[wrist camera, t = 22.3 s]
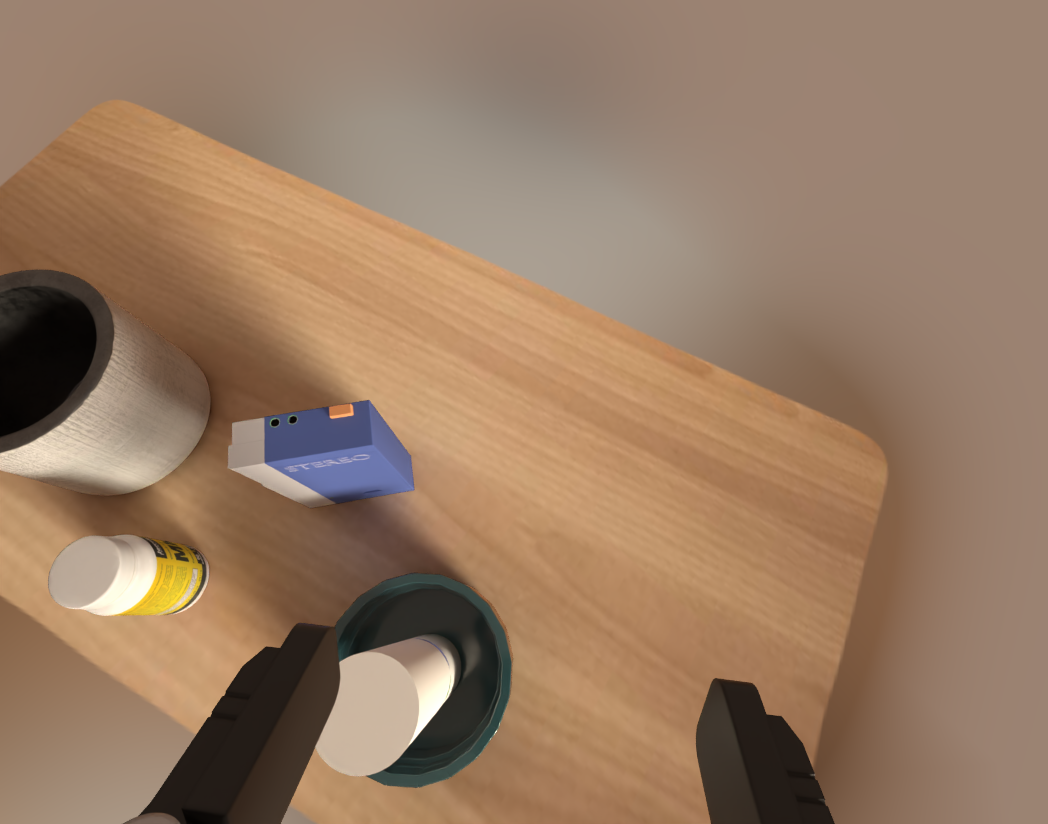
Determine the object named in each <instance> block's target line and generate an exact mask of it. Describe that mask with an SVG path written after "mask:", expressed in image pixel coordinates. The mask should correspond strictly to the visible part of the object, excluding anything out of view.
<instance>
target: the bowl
mask: <svg viewBox="0 0 1048 824" xmlns="http://www.w3.org/2000/svg"><path fill="white" fill-rule="evenodd" d="M335 630H336V637H337V646H338V656H339V662H340V661H342V660H344V659H346V658H348V657H349V656H352V655H355V654H358V653H362V652H365V651H369V650H372V649H376V648H379V647H383V646H386V645H390V644H393V643H397V642H400V641H404V640H407V639H411V638H414V637H418V636H421V635H425V634H437V635H440V636H443V637H445V638H446V639H448V640H449V641H450V642H451V643H452V644H453V645H454V646H455V648H456V649H457V651H458V653H459V656H460V660H461V676H460V679H459V682H458V684H457V686H456V688H455V690H454V691H453V692H452V694H451V695H450V696H449V697H448V699H447V700H446V701H445V702H444V704H443V705H442V706H441V707H440V709H439V710H438V711H437V712H436V714H435V715H434V716H433V717H432V718H431V720H430V721H429V722H428V723H427V725H426V726H425V727H424V728H423V729H422V731H421V732H420V733H419V734H418V736H417V737H416V738H415V739H414V740H413V742H412V743H411V744H410V745H409V746H408V748H407V749H406V750H405V751H404V753H403V754H402V755H401V756H400V757H399V758H398V759H397V760H396V761H395V762H394V763H393V764H391V765H390V766H389V767H387V768H385V769H384V770H382V771H380V772H378V773H374V774H371V775H367V777H369V778H371V779H373V780H375V781H377V782H379V783H381V784H383V785H387V786H398V787H413V788H418V787H423V786H426V785H429V784H433V783H436V782H439V781H442V780H446V779H449V778H450V777H452V776H454V775H455V774H456V773H458V772H459V771H460V770H462V769H463V768H465V767H466V766H467V765H469V764H470V763H471V762H473V761H474V760H475V759H477V757H479V755H480V754H481V753H482V751H483V750H484V748H485V747H486V746H487V744H488V743H489V742H490V740H491V739H492V737H493V736H494V735H495V733H496V732H497V731H498V728H499V726H500V723H501V720H502V718H503V715H504V712H505V709H506V706H507V703H508V701H509V698H510V692H511V685H512V668H513V653H512V649H511V645H510V640H509V636H508V632H507V629H506V626H505V625H504V623H503V621H502V619H501V618H500V616H499V614H498V613H497V611H496V609H495V607H494V606H493V605H492V604H491V603H490V602H489V601H488V600H487V599H486V598H485V597H484V596H482V595H481V594H480V593H479V592H478V591H477V590H476V589H475V588H473V587H471V586H468V585H466V584H464V583H461V582H459V581H456V580H454V579H452V578H449V577H447V576H444V575H441V574H426V573H410V574H406V575H403V576H399V577H395V578H391V579H388V580H385V581H383V582H381V583H380V584H378V585H377V586H375V587H373V588H372V589H370V590H369V591H367V592H366V593H364V594H362V595H361V596H360V597H358V598H357V599H356V601H355V602H354V603H353V604H352V605H351V606H350V607H349V609H348V610H347V611H346V612H345V613H344V614H343V615H342V617H341V618H340V619H339V620H338V622H337V623H336V626H335Z"/></svg>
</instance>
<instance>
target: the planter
mask: <svg viewBox="0 0 1048 824" xmlns="http://www.w3.org/2000/svg"><path fill="white" fill-rule="evenodd" d="M210 404H211V397H210V390H209V386H208V382H207V380H206V377H205V375H204V374H203V372H202V370H201V369H200V368H199V366H198V365H197V364H196V363H195V362H194V361H193V360H192V359H191V358H190V357H189V356H188V355H187V354H186V353H184V352H183V351H182V350H180V349H179V348H178V347H176V346H175V345H173V344H172V343H171V342H169V341H168V340H166V339H165V338H164V337H162V336H161V335H159V334H158V333H157V332H155V331H154V330H152V329H151V328H150V327H148V326H147V325H145V324H144V323H143V322H141V321H140V320H138V319H137V318H136V317H134V316H133V315H131V314H130V313H129V312H127V311H126V310H124V309H123V308H122V307H120V306H119V305H118V304H116V303H115V302H114V301H112V300H111V299H109V298H108V297H107V296H105V295H104V294H103V293H101V292H100V291H99V290H97V289H96V288H95V287H93V286H92V285H90V284H89V283H87V282H86V281H84V280H82V279H80V278H78V277H76V276H73V275H71V274H67V273H64V272H59V271H53V270H26V271H19V272H13V273H9V274H5V275H1V276H0V470H2V471H5V472H9V473H12V474H16V475H20V476H23V477H27V478H30V479H34V480H37V481H41V482H44V483H48V484H51V485H55V486H58V487H62V488H65V489H69V490H73V491H77V492H80V493H85V494H92V495H120V494H126V493H130V492H134V491H137V490H140V489H142V488H145V487H147V486H150V485H152V484H154V483H156V482H157V481H159V480H161V479H162V478H164V477H165V476H167V475H168V474H170V473H171V472H172V471H173V470H175V469H176V468H177V467H178V466H179V465H180V464H181V463H182V462H183V461H184V460H185V459H186V458H187V457H188V456H189V455H190V453H191V452H192V451H193V449H194V448H195V447H196V445H197V444H198V442H199V440H200V438H201V436H202V434H203V432H204V430H205V427H206V425H207V422H208V418H209V413H210Z"/></svg>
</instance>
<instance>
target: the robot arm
mask: <svg viewBox="0 0 1048 824" xmlns="http://www.w3.org/2000/svg"><path fill="white" fill-rule="evenodd" d="M339 685H340V665H339V656H338V646H337V637H336V630H335V628H334V627H329V626H322V625H314V624H306V623H298V624H296V625H295V626H294V627H293V629H292V630H291V632H290V633H289V635H288V636H287V638H286V640H285V641H284V643H283V644H282V646H281V648H275V647H267V646H266V647H265V648H264V649H263V650H261V651H260V652H259V653H258V654H257V655H255V656H254V657H253V658H252V659H251V660H249V661H248V662H247V663H246V664H245V665H244V666H242V668H241V669H240V671H239V672H238V674H237V675H236V677H235V678H234V680H233V681H232V683H231V684H230V686H229V687H228V689H227V690H226V694H225V696H222V698H221V699H220V700H219V702H218V703H217V705H216V706H215V708H214V709H213V711H212V714H211V716H210V717H208V718H207V720H206V721H205V723H204V724H203V726H202V727H201V729H200V730H199V732H198V733H197V735H196V736H195V738H194V739H193V741H192V742H191V744H190V745H189V747H188V748H187V749H186V751H185V753H184V754H183V755H182V757H181V758H180V760H179V761H178V763H177V764H176V766H175V767H174V769H173V770H172V772H171V773H170V775H169V776H168V778H167V779H166V781H165V782H164V784H163V785H162V787H161V788H160V790H159V791H158V793H157V794H156V795H155V797H154V798H153V800H152V801H151V802H150V804H149V805H148V806H147V807H146V808H145V809H144V810H143V812H142V813H141V814H140V815H139V816H138V817H135V818H133V819H131V820H129V821H127V822H125V823H123V824H281V822H282V819H283V817H284V815H285V813H286V811H287V808H288V806H289V804H290V802H291V800H292V797H293V795H294V793H295V791H296V788H297V786H298V784H299V782H300V780H301V777H302V775H303V773H304V771H305V769H306V766H307V764H308V762H309V760H310V758H311V755H312V753H313V751H314V749H315V746H316V744H317V742H318V740H319V738H320V735H321V733H322V731H323V729H324V727H325V724H326V722H327V720H328V718H329V716H330V713H331V711H332V709H333V707H334V704H335V701H336V698H337V695H338V691H339ZM696 749H697V757H698V763H699V768H700V772H701V777H702V782H703V787H704V791H705V796H706V801H707V806H708V811H709V815H710V820H711V824H835V823H834V821H833V818H832V816H831V813H830V811H829V808H828V806H826V805H825V799H824V796H823V793H822V791H821V788H820V786H819V783H818V781H817V780H815V773H814V771H813V768H812V766H811V763H810V761H809V758H808V756H807V753H806V751H805V748H804V746H803V743H802V742H801V741H800V740H799V738H798V737H797V736H796V734H795V733H794V732H793V730H792V729H791V728H790V726H789V725H788V724H787V723H786V721H785V720H784V719H783V717H782V716H774V715H767V714H766V712H765V709H764V706H763V703H762V701H761V698H760V695H759V692H758V690H757V688H756V687H755V685H754V684H753V683H748V682H741V681H733V680H725V679H718V678H715V679H714V680H713V681H712V683H711V686H710V689H709V692H708V695H707V698H706V701H705V704H704V707H703V710H702V713H701V716H700V719H699V722H698V725H697V732H696Z"/></svg>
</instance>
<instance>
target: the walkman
mask: <svg viewBox="0 0 1048 824" xmlns="http://www.w3.org/2000/svg"><path fill="white" fill-rule="evenodd" d="M228 468H229V469H231V470H233V471H236V472H238V473H240V474H242V475H244V476H246V477H248V478H250V479H252V480H255V481H257V482H259V483H261V484H262V486H264V487H266V488H268V489H270V490H273V491H275V492H277V493H279V494H281V495H283V496H285V497H288V498H290V499H292V500H294V501H296V502H298V503H300V504H303V505H305V506H307V507H309V508H315V507H320V506H326V505H332V504H337V503H343V502H349V501H354V500H360V499H366V498H372V497H377V496H383V495H389V494H395V493H400V492H406V491H412V490H414V482H413V472H412V463H411V456H410V454H409V453H408V452H407V450H406V449H405V448H404V446H403V445H402V444H401V442H400V441H399V440H398V438H397V437H396V436H395V434H394V433H393V432H392V430H391V429H390V427H389V426H388V425H387V423H386V422H385V421H384V419H383V418H382V417H381V415H380V414H379V413H378V411H377V410H376V409H375V407H374V406H373V405H372V403H371V402H370V400H367V401H360V402H354V403H348V404H342V405H336V406H329V407H323V408H317V409H311V410H305V411H298V412H292V413H286V414H280V415H273V416H267V417H264V418H258V419H252V420H246V421H239V422H233V423H232V445H230V446H228Z"/></svg>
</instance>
